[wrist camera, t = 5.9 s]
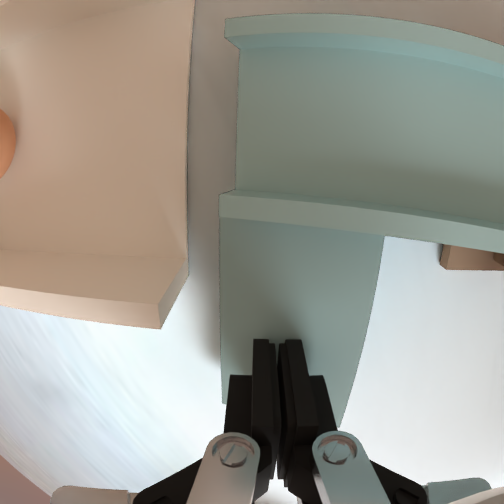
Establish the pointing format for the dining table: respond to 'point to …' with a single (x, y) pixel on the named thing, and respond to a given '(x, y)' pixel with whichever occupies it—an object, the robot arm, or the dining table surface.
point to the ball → (6, 142)
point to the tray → (95, 157)
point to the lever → (349, 175)
